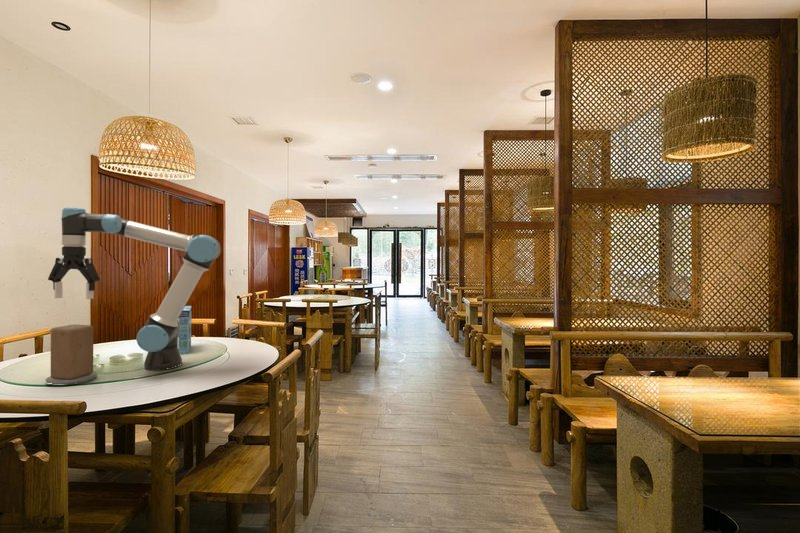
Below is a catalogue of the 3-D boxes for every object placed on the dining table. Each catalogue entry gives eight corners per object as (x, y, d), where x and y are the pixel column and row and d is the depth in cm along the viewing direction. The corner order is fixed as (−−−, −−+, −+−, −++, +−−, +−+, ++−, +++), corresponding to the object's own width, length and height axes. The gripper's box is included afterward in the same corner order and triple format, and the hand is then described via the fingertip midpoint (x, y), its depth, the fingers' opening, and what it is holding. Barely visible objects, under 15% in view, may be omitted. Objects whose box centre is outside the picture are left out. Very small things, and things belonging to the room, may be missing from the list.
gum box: (181, 346, 223) (181, 306, 223) (191, 346, 225) (192, 305, 225) (177, 354, 205) (178, 310, 205) (188, 354, 207) (189, 310, 207)
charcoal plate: (107, 376, 168) (107, 371, 168) (71, 388, 152) (71, 383, 152) (72, 374, 169) (72, 369, 169) (34, 386, 153) (34, 380, 153)
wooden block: (70, 380, 155) (70, 329, 154) (49, 378, 156) (49, 327, 156) (94, 373, 164) (94, 325, 164) (74, 371, 166) (74, 323, 166)
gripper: (110, 246, 164) (110, 298, 165) (54, 246, 166) (54, 296, 166) (95, 246, 157) (95, 300, 157) (36, 245, 159) (36, 298, 159)
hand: (74, 298), depth 162 cm, fingers open, 13 cm apart
